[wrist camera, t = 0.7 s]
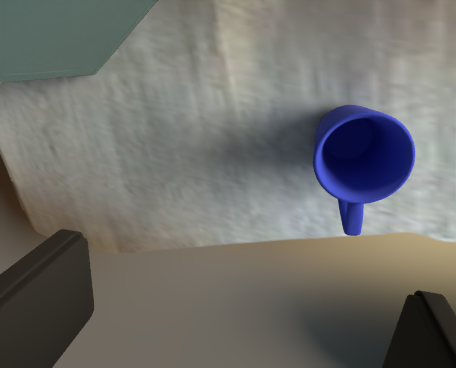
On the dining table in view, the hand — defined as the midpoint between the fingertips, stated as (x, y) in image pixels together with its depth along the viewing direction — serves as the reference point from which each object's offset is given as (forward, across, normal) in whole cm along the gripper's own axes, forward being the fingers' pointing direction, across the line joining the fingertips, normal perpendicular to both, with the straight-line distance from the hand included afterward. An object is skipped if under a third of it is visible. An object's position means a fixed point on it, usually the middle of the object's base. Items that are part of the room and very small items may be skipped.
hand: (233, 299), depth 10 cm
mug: (+31, -8, +3) cm, 32 cm away
